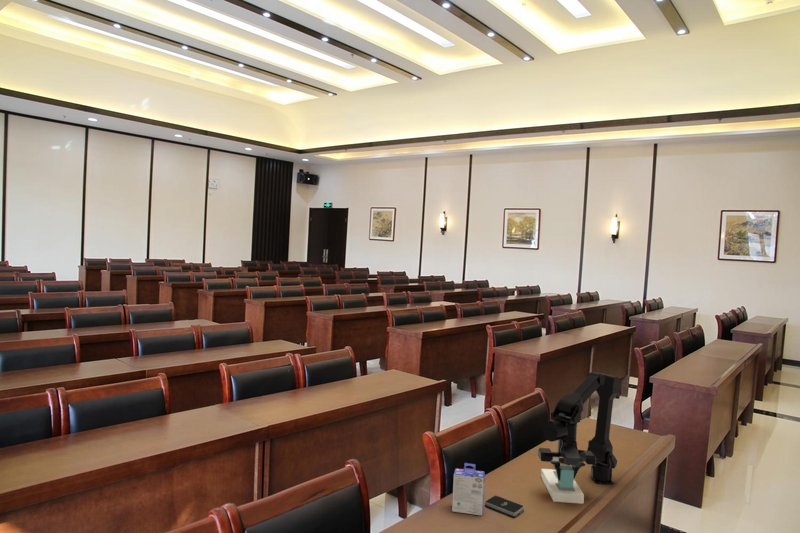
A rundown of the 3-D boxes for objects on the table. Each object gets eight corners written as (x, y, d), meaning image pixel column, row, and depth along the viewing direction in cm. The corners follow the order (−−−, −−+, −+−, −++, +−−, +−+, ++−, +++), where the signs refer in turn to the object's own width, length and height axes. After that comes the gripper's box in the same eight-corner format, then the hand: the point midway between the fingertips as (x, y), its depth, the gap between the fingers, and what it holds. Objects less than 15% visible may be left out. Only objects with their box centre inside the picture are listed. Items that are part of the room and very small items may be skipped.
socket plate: (568, 478, 192) (568, 470, 192) (583, 503, 172) (584, 494, 172) (541, 476, 192) (541, 468, 192) (553, 501, 172) (553, 492, 172)
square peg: (569, 482, 179) (570, 465, 179) (573, 488, 175) (573, 470, 175) (557, 481, 179) (558, 465, 179) (560, 487, 175) (561, 469, 175)
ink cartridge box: (483, 508, 166) (485, 464, 165) (482, 516, 160) (485, 470, 160) (453, 504, 168) (455, 460, 167) (451, 512, 162) (453, 466, 162)
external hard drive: (514, 519, 160) (514, 513, 160) (483, 507, 167) (483, 501, 167) (524, 512, 165) (524, 506, 165) (494, 500, 172) (494, 494, 172)
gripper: (545, 442, 169) (543, 489, 170) (602, 446, 168) (600, 493, 168) (538, 431, 181) (536, 474, 181) (592, 434, 179) (590, 478, 180)
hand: (565, 480), depth 177 cm, fingers closed on square peg, 4 cm apart
